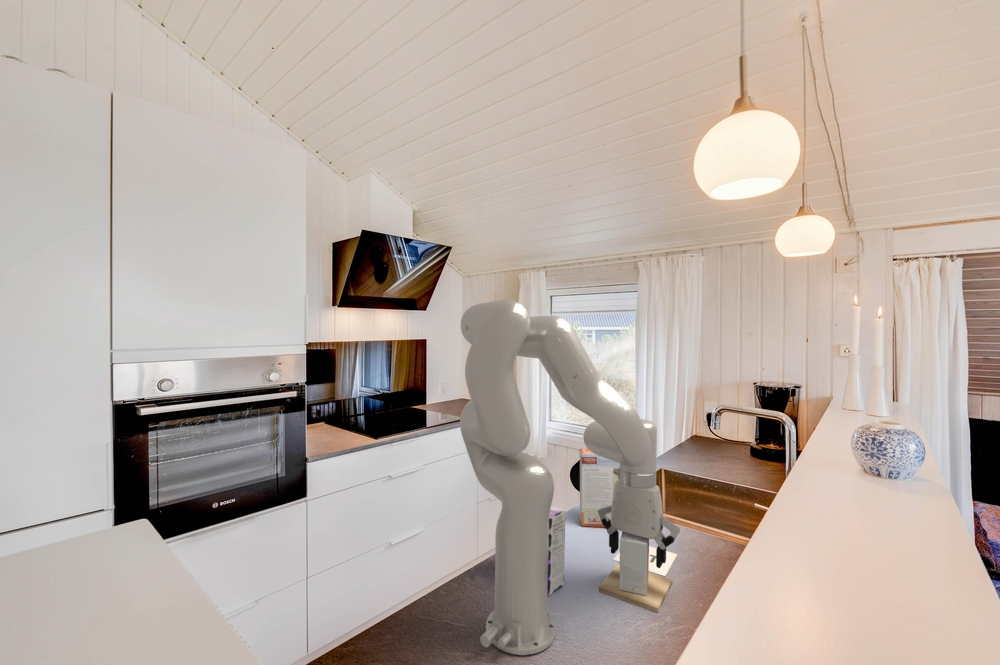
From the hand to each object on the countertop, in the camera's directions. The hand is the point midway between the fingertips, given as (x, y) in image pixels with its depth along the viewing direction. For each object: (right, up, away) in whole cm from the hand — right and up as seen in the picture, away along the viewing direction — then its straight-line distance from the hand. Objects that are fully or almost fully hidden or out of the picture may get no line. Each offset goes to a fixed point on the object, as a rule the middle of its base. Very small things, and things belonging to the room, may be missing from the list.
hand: (636, 557), depth 92 cm
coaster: (0, -6, 0) cm, 6 cm away
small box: (0, -6, 0) cm, 6 cm away
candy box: (-22, -6, +3) cm, 23 cm away
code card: (+6, -7, +13) cm, 15 cm away
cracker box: (+1, -7, +31) cm, 32 cm away
